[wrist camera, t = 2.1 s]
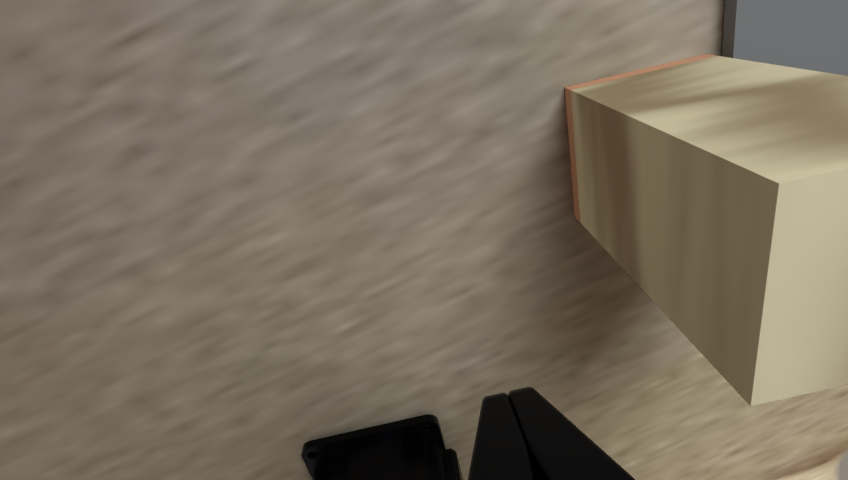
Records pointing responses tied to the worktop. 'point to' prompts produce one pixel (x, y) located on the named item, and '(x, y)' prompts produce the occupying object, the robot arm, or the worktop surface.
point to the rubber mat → (788, 33)
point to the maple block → (726, 209)
